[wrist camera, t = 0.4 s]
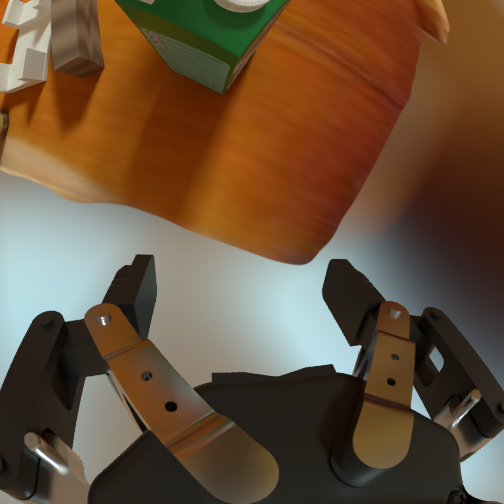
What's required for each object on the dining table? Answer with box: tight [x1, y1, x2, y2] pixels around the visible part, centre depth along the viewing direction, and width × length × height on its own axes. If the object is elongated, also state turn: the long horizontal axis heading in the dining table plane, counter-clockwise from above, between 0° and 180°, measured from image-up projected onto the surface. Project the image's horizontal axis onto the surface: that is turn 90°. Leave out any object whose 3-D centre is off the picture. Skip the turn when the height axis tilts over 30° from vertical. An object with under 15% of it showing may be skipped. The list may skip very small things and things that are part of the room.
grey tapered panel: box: [51, 0, 104, 78], centre depth 20 cm, size 16×4×9 cm, turn 11°
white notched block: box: [0, 0, 52, 93], centre depth 18 cm, size 18×9×7 cm, turn 176°
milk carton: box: [115, 0, 291, 95], centre depth 19 cm, size 9×9×25 cm
